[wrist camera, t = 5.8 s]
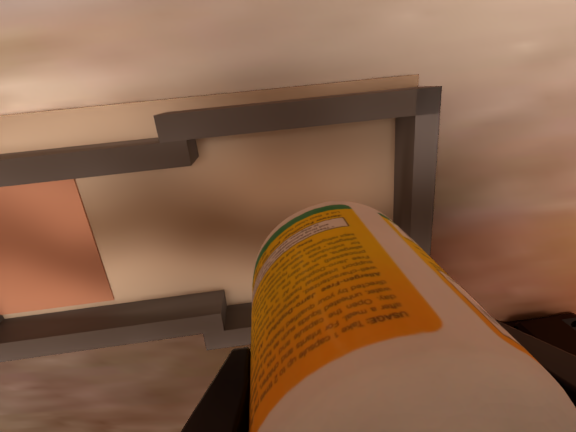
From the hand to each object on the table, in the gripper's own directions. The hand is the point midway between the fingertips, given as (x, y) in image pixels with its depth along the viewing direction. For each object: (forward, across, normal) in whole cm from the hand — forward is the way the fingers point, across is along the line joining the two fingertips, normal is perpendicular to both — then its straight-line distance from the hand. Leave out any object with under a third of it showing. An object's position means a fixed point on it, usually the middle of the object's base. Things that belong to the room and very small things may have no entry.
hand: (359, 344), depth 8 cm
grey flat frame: (+9, +6, 0) cm, 11 cm away
